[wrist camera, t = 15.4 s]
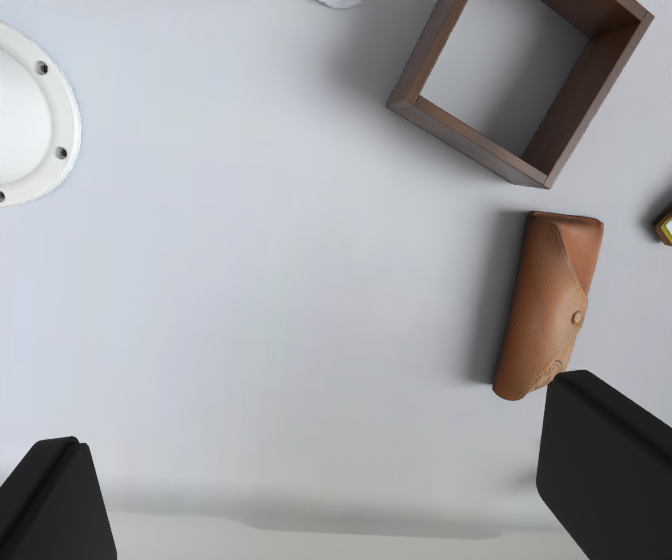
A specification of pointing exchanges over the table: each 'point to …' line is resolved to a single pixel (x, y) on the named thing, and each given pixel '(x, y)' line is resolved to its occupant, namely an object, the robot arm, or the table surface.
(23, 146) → the robot arm
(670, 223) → the harmonica
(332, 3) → the beer glass
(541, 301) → the sunglasses case
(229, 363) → the table surface
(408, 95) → the crate
